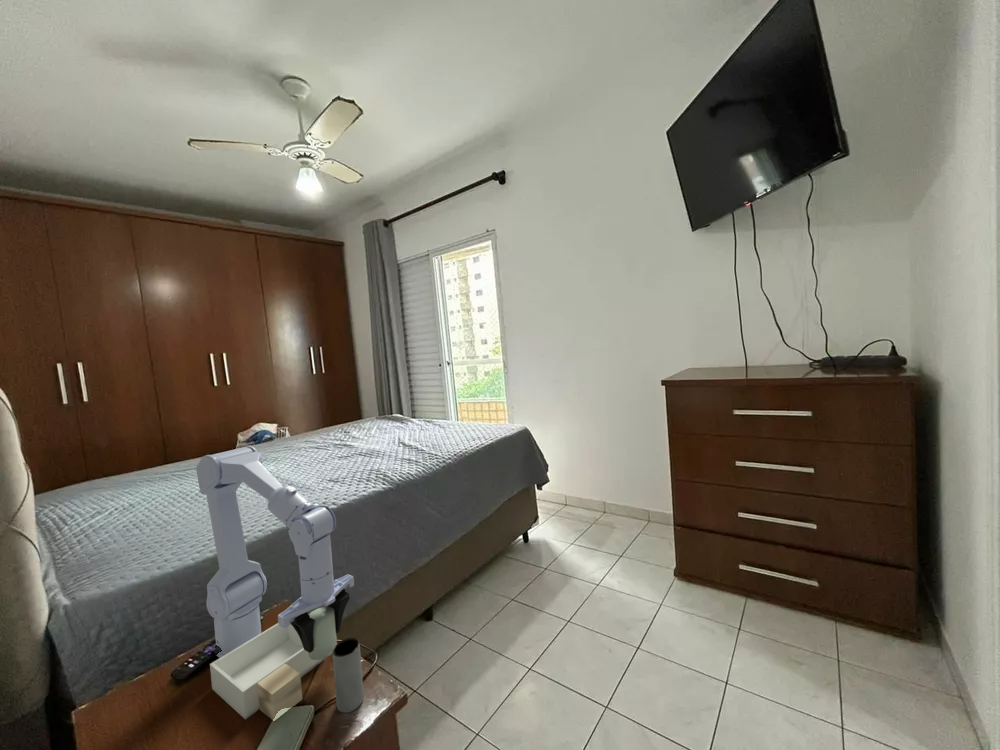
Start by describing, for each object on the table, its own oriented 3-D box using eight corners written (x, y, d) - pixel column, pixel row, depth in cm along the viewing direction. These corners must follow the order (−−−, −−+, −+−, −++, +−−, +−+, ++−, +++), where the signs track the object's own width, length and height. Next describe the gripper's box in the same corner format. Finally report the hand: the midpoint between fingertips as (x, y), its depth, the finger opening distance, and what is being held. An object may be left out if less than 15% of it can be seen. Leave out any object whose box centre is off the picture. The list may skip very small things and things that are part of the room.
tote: (212, 689, 74) (209, 664, 74) (289, 638, 87) (287, 617, 86) (245, 719, 67) (242, 692, 67) (324, 659, 80) (322, 636, 80)
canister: (303, 654, 74) (300, 618, 74) (327, 637, 78) (324, 603, 78) (318, 663, 71) (315, 627, 71) (342, 645, 76) (339, 611, 75)
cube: (259, 709, 69) (257, 682, 69) (287, 688, 73) (285, 663, 73) (274, 722, 66) (271, 694, 66) (302, 699, 71) (300, 673, 70)
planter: (354, 714, 67) (350, 657, 66) (331, 711, 68) (326, 655, 67) (368, 692, 71) (364, 638, 71) (346, 689, 72) (342, 636, 72)
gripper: (290, 599, 66) (297, 675, 66) (361, 559, 78) (366, 623, 79) (269, 588, 70) (275, 660, 70) (339, 551, 82) (344, 613, 82)
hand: (322, 640), depth 75 cm, fingers closed on canister, 5 cm apart
